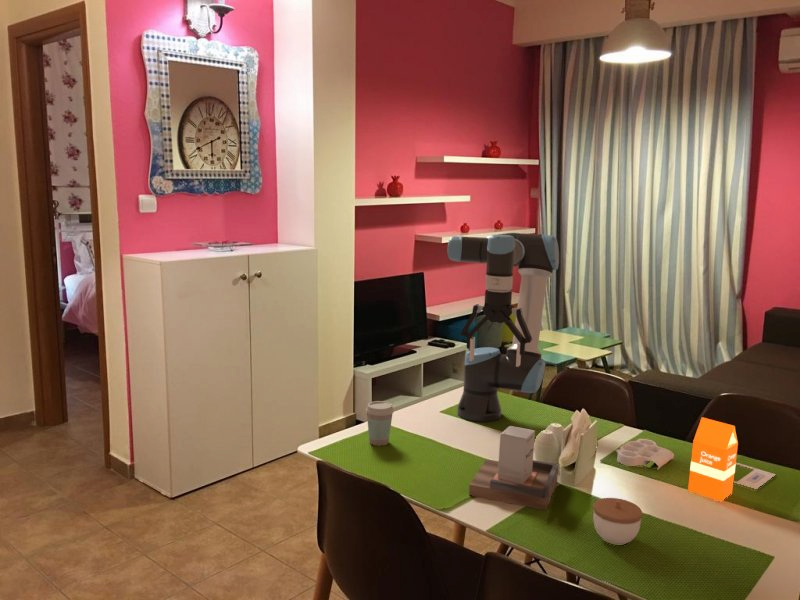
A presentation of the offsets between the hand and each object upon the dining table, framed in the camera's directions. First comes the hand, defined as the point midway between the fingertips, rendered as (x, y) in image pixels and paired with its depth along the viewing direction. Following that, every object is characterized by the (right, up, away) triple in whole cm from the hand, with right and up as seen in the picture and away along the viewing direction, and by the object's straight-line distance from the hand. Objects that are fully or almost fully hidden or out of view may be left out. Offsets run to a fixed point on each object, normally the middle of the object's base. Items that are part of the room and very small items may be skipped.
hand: (494, 362), depth 204 cm
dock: (+3, -32, -15) cm, 36 cm away
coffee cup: (-34, -26, +14) cm, 45 cm away
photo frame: (+68, -32, -1) cm, 75 cm away
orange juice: (+56, -34, -14) cm, 67 cm away
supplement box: (+3, -29, -16) cm, 33 cm away
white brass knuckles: (+45, -30, +8) cm, 54 cm away
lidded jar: (+22, -37, -40) cm, 59 cm away
